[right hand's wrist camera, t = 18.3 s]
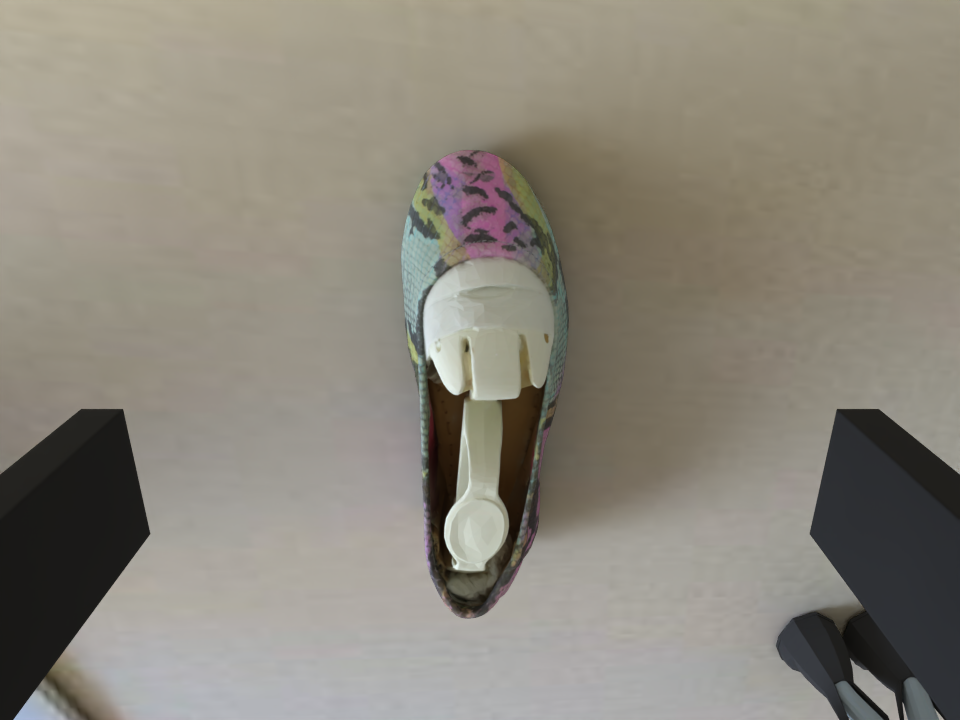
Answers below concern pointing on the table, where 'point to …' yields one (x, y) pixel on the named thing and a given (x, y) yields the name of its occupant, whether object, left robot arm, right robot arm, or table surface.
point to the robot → (829, 669)
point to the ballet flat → (481, 367)
